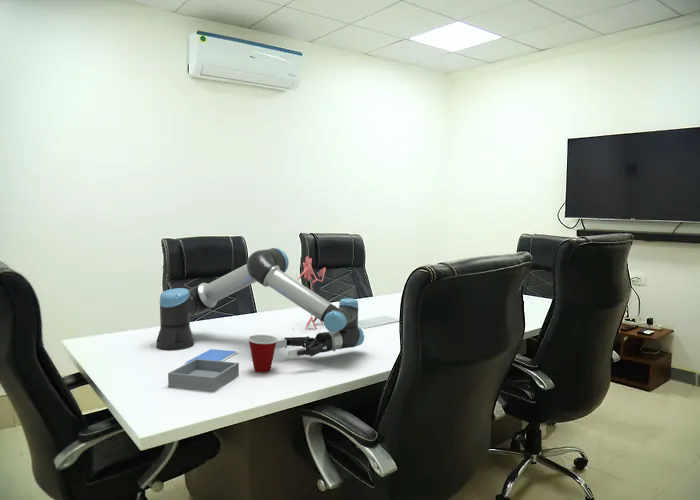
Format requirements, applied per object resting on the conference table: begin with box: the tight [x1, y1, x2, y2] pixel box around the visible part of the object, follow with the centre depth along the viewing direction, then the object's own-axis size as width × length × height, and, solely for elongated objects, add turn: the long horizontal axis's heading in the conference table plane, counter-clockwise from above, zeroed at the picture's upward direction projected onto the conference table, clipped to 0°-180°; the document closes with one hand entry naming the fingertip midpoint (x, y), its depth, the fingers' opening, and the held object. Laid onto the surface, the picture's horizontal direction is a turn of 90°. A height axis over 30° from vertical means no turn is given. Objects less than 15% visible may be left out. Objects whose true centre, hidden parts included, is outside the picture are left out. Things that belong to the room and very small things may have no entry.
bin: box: [167, 359, 240, 393], centre depth 171 cm, size 17×17×4 cm
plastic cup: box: [247, 334, 279, 374], centre depth 182 cm, size 11×11×12 cm
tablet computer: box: [184, 348, 238, 365], centre depth 197 cm, size 19×13×1 cm, turn 165°
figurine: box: [292, 255, 327, 331], centre depth 251 cm, size 15×26×35 cm, turn 163°
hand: (279, 349), depth 185 cm, fingers open, 13 cm apart
